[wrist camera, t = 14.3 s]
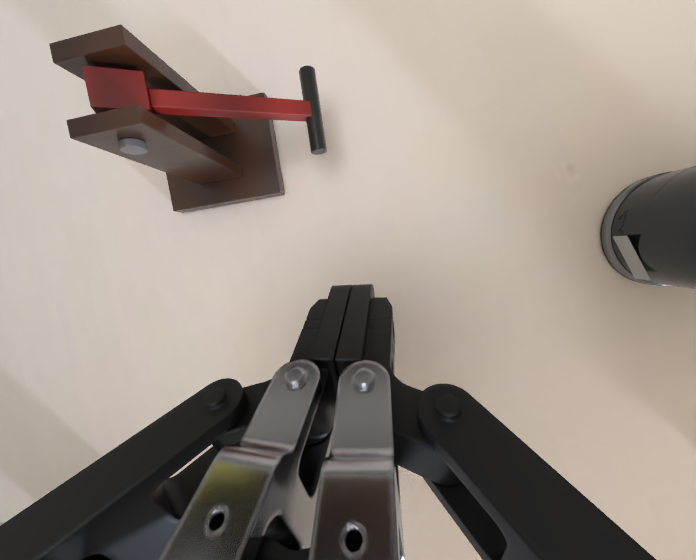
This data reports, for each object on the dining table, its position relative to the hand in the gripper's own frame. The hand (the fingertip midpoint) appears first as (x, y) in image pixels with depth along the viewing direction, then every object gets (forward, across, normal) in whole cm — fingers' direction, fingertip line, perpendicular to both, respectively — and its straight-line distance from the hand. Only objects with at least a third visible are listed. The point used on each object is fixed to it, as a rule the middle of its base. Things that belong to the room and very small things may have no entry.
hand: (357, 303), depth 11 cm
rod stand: (+20, -15, +3) cm, 25 cm away
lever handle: (+14, -11, +7) cm, 19 cm away
